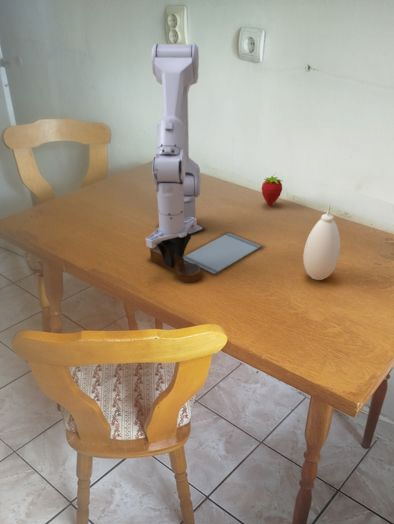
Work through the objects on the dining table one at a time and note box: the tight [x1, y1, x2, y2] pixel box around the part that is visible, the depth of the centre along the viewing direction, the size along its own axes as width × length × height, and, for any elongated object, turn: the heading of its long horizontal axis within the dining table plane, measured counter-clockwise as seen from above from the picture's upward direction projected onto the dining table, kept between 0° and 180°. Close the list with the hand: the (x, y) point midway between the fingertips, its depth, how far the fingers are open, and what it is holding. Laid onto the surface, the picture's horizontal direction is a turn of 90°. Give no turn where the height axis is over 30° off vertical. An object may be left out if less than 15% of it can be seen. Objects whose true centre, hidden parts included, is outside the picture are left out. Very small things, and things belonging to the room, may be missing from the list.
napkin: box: [183, 232, 262, 275], centre depth 126 cm, size 11×18×1 cm, turn 137°
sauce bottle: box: [302, 203, 341, 281], centre depth 111 cm, size 8×8×18 cm
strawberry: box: [261, 172, 283, 207], centre depth 145 cm, size 6×8×10 cm
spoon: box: [149, 245, 202, 284], centre depth 120 cm, size 15×6×3 cm, turn 47°
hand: (173, 263), depth 120 cm, fingers closed
